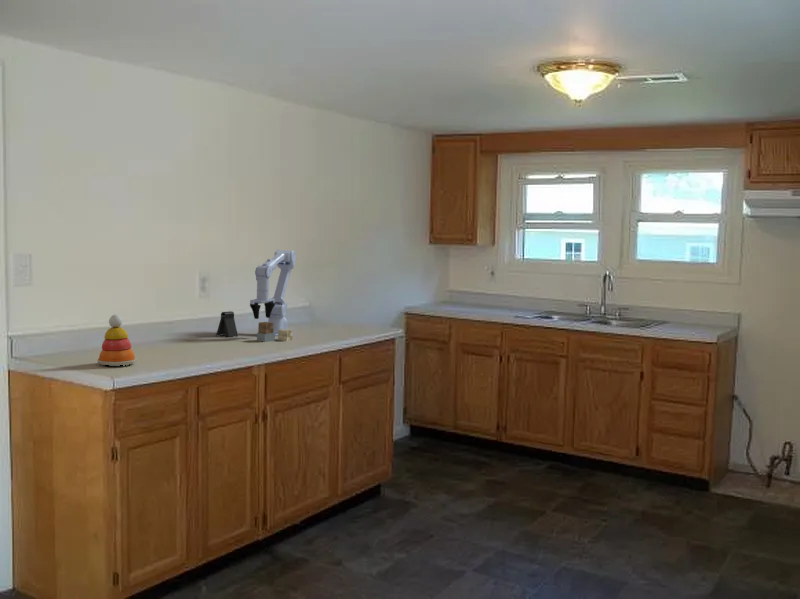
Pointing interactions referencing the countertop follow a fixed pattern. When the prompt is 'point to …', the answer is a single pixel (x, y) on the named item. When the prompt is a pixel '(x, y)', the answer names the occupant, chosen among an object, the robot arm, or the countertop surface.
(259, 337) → the grey base block
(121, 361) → the stacking toy
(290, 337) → the maple cube
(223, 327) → the phone stand
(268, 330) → the walnut cube
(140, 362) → the countertop surface
